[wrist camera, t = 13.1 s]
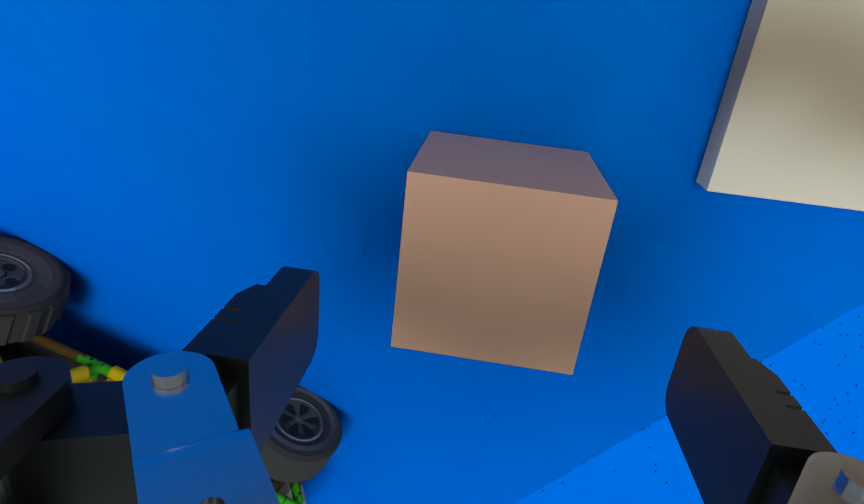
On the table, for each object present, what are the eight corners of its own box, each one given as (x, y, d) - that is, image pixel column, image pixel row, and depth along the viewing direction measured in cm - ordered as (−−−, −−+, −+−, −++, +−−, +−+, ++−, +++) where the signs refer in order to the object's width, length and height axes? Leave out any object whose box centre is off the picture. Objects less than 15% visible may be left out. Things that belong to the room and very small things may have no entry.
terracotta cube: (431, 130, 18) (407, 171, 13) (586, 151, 17) (618, 200, 13) (415, 269, 20) (391, 346, 15) (555, 289, 19) (572, 374, 15)
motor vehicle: (257, 550, 27) (142, 809, 18) (-90, 375, 25) (-410, 573, 16) (356, 411, 23) (268, 659, 14) (-50, 187, 21) (-452, 315, 12)
